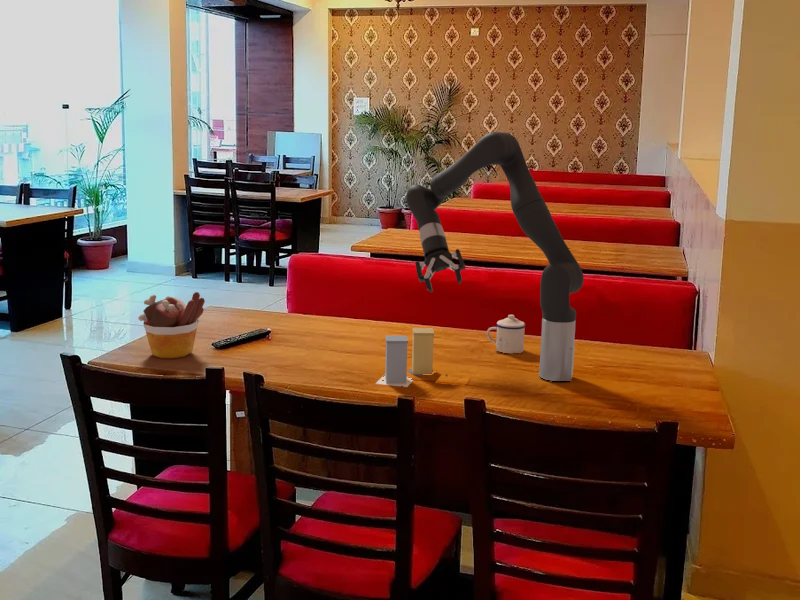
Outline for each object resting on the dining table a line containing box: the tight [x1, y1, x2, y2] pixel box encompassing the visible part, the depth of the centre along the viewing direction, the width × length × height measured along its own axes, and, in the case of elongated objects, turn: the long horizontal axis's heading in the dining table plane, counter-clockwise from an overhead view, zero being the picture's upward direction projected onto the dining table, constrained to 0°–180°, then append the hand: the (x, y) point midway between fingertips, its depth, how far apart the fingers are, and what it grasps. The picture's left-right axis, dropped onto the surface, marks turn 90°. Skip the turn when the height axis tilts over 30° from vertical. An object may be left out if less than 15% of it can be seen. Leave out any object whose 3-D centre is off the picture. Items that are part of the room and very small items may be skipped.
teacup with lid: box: [486, 314, 526, 354], centre depth 262 cm, size 12×9×12 cm
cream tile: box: [375, 375, 414, 388], centre depth 229 cm, size 9×9×1 cm
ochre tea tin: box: [411, 327, 435, 374], centre depth 236 cm, size 6×6×12 cm
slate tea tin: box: [384, 335, 409, 384], centre depth 228 cm, size 6×6×12 cm
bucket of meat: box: [137, 291, 206, 360], centre depth 249 cm, size 20×16×20 cm
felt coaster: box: [408, 368, 424, 377], centre depth 238 cm, size 8×8×1 cm
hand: (445, 286), depth 242 cm, fingers open, 8 cm apart
